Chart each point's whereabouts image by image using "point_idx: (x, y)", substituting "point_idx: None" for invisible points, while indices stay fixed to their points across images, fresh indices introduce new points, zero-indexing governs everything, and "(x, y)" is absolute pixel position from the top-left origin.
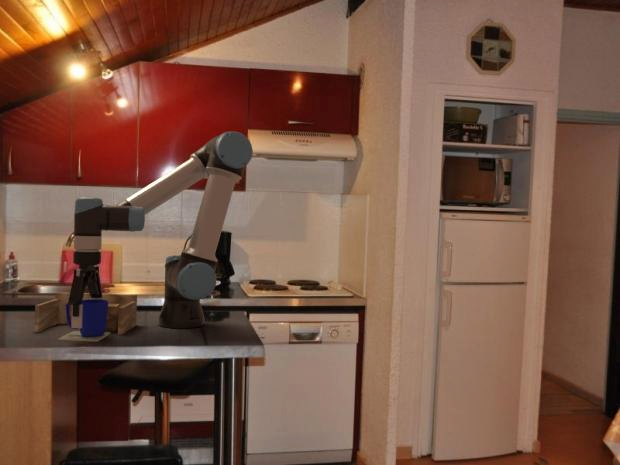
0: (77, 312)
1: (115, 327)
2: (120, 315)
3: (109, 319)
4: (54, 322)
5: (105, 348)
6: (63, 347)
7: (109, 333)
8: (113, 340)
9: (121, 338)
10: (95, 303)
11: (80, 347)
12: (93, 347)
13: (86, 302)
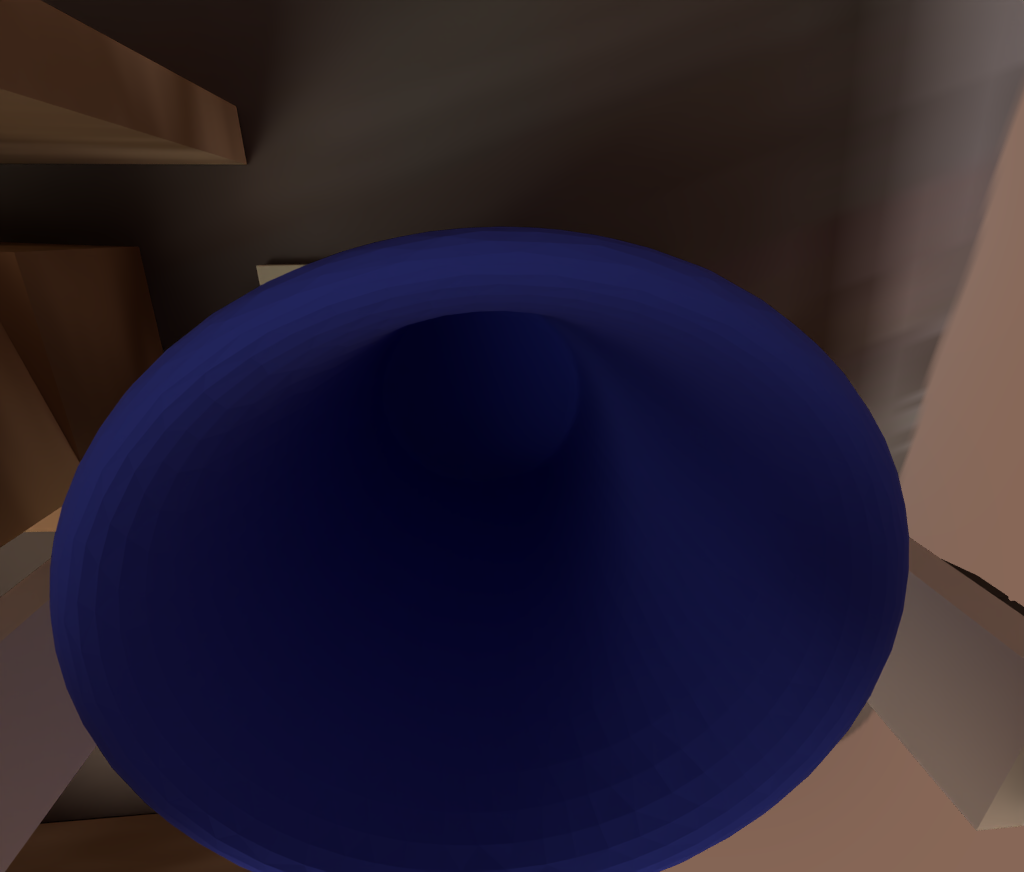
0: (1015, 605)
1: (80, 247)
2: (62, 56)
3: (16, 356)
4: (58, 846)
5: (1007, 55)
6: (891, 454)
7: (287, 265)
8: (599, 102)
9: (472, 32)
10: (898, 497)
11: (914, 326)
12: (935, 206)
13: (345, 801)
